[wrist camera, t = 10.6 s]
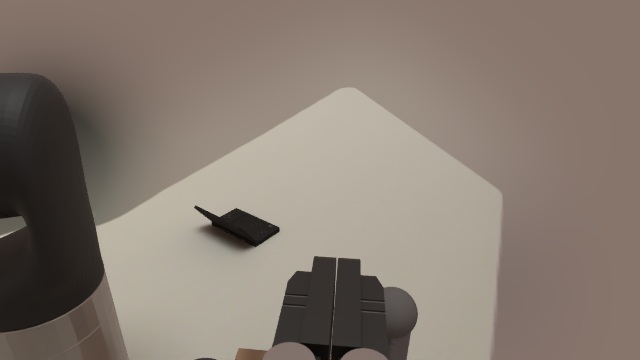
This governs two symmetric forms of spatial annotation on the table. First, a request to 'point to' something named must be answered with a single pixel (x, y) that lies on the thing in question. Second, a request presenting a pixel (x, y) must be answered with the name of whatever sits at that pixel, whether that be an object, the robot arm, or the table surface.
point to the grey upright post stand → (399, 321)
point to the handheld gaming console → (242, 225)
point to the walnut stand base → (251, 354)
